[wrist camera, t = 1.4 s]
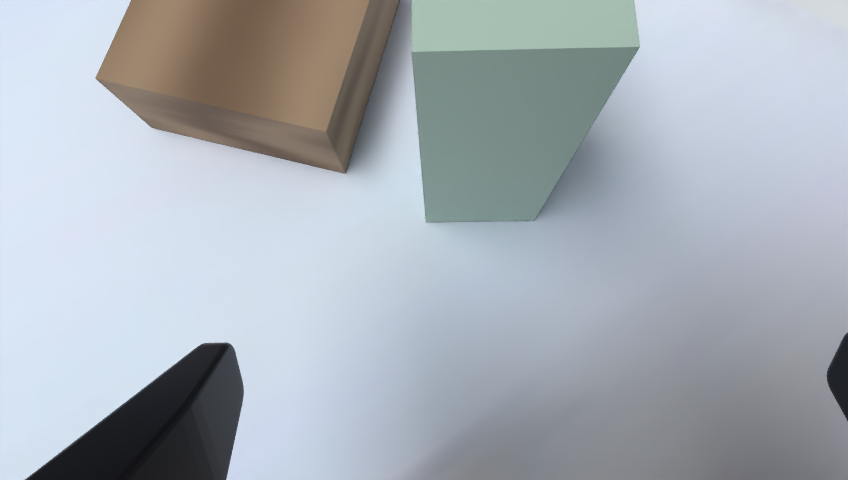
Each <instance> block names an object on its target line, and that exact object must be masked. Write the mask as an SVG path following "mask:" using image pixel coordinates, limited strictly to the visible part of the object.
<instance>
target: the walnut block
mask: <svg viewBox="0 0 848 480" xmlns="http://www.w3.org/2000/svg"><path fill="white" fill-rule="evenodd" d="M399 1H400V0H131V2H130V4H129V6H128V9H127V11H126V13H125V15H124V17H123V19H122V22H121V24H120V26H119V28H118V30H117V32H116V35H115V37H114V39H113V41H112V43H111V46H110V48H109V50H108V52H107V54H106V56H105V59H104V61H103V63H102V65H101V67H100V70H99V72H98V74H97V76H96V78H95V79H97V80H98V81H99V82H100V83H101V84H102V85H103V86H105V87H106V88H107V89H108V90H109V91H110V92H111V93H113V94H114V95H115V96H116V97H117V98H118V99H119V100H121V101H122V102H123V103H124V104H125V105H126V106H128V107H129V108H130V109H131V110H132V111H133V112H134V113H136V114H137V115H138V116H139V117H140V118H141V119H142V120H144V121H145V122H146V123H147V124H148V125H149V126H150V127H152V128H156V129H160V130H164V131H168V132H172V133H177V134H181V135H185V136H189V137H194V138H198V139H202V140H206V141H210V142H215V143H219V144H223V145H227V146H231V147H236V148H240V149H244V150H248V151H252V152H257V153H261V154H265V155H269V156H273V157H278V158H282V159H286V160H290V161H295V162H299V163H303V164H307V165H311V166H316V167H320V168H324V169H328V170H332V171H337V172H341V173H345V172H346V169H347V166H348V163H349V159H350V156H351V153H352V150H353V147H354V144H355V140H356V137H357V134H358V131H359V128H360V125H361V121H362V118H363V115H364V112H365V109H366V106H367V102H368V99H369V96H370V93H371V90H372V87H373V83H374V80H375V77H376V74H377V71H378V68H379V64H380V61H381V58H382V55H383V52H384V49H385V45H386V42H387V39H388V36H389V33H390V29H391V26H392V23H393V20H394V17H395V14H396V10H397V7H398V4H399Z"/></svg>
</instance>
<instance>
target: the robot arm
mask: <svg viewBox="0 0 848 480" xmlns="http://www.w3.org/2000/svg"><path fill="white" fill-rule="evenodd" d="M827 382H828V385H829V387H830V390H831V391H832V393H833V395H834V397H835V399H836V401H837V402H838V404H839V406H840V408H841V410H842V411H843V413H844V415H845V417H846V419H847V421H848V333H846V334H845V336H844V337H843V339H842V341H841V343H840V345H839V347H838V350H837V352H836V354H835V356H834V358H833V360H832V362H831V364H830V366H829V368H828V371H827ZM243 395H244V388H243V381H242V377H241V373H240V369H239V365H238V361H237V357H236V353H235V350H234V348H233V346H232V345H231V344H229V343H205V344H201V345H200V346H198V347H197V348H195V349H194V350H193V351H191V352H190V353H189V354H188V355H186V356H185V357H184V358H182V359H181V360H180V361H178V362H177V363H176V364H175V365H173V366H172V367H171V368H169V369H168V370H167V371H165V372H164V373H163V374H162V375H160V376H159V377H158V378H156V379H155V380H154V381H152V382H151V383H150V384H149V385H147V386H146V387H145V388H143V389H142V390H141V391H139V392H138V393H137V394H136V395H134V396H133V397H132V398H130V399H129V400H128V401H127V402H125V403H124V404H123V405H121V406H120V407H119V408H117V409H116V410H115V411H114V412H112V413H111V414H110V415H108V416H107V417H106V418H104V419H103V420H102V421H101V422H99V423H98V424H97V425H95V426H94V427H93V428H91V429H90V430H89V431H88V432H86V433H85V434H84V435H82V436H81V437H80V438H78V439H77V440H76V441H75V442H73V443H72V444H71V445H69V446H68V447H67V448H66V449H64V450H63V451H62V452H60V453H59V454H58V455H56V456H55V457H54V458H53V459H51V460H50V461H49V462H47V463H46V464H45V465H43V466H42V467H41V468H40V469H38V470H37V471H36V472H34V473H33V474H32V475H30V476H29V477H28V478H27V479H25V480H226V478H227V474H228V469H229V464H230V459H231V455H232V450H233V445H234V440H235V436H236V431H237V426H238V421H239V417H240V412H241V407H242V402H243Z"/></svg>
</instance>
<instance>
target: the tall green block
mask: <svg viewBox="0 0 848 480" xmlns="http://www.w3.org/2000/svg"><path fill="white" fill-rule="evenodd" d="M639 47H640V44H639V36H638V28H637V20H636V12H635V4H634V0H412V61H413V74H414V86H415V98H416V110H417V122H418V134H419V146H420V158H421V170H422V182H423V195H424V207H425V219H426V222H480V221H534V220H535V218H536V216H537V215H538V213H539V212H540V210H541V208H542V207H543V205H544V203H545V202H546V200H547V198H548V197H549V195H550V193H551V192H552V190H553V189H554V187H555V185H556V184H557V182H558V180H559V179H560V177H561V175H562V174H563V172H564V171H565V169H566V167H567V166H568V164H569V162H570V161H571V159H572V157H573V156H574V154H575V152H576V151H577V149H578V148H579V146H580V144H581V143H582V141H583V139H584V138H585V136H586V134H587V133H588V131H589V129H590V128H591V126H592V125H593V123H594V121H595V120H596V118H597V116H598V115H599V113H600V111H601V110H602V108H603V106H604V105H605V103H606V102H607V100H608V98H609V97H610V95H611V93H612V92H613V90H614V88H615V87H616V85H617V83H618V82H619V80H620V79H621V77H622V75H623V74H624V72H625V70H626V69H627V67H628V65H629V64H630V62H631V61H632V59H633V57H634V56H635V54H636V52H637V51H638V49H639Z"/></svg>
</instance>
